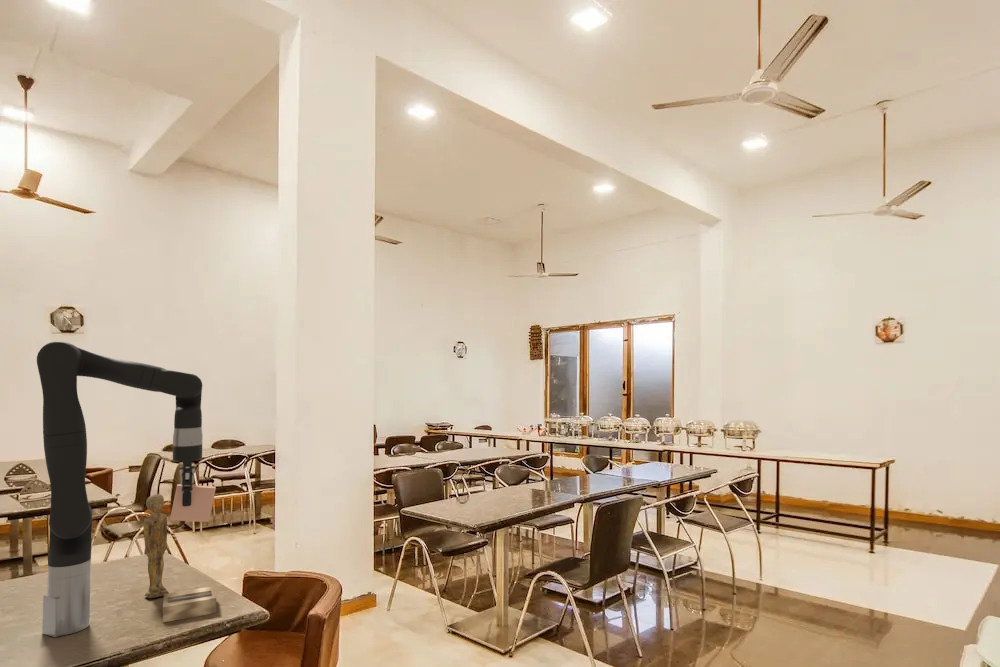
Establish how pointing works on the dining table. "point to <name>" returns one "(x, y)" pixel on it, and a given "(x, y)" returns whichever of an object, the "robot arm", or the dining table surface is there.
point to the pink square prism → (193, 504)
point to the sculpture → (155, 544)
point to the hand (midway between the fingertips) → (186, 504)
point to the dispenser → (189, 603)
